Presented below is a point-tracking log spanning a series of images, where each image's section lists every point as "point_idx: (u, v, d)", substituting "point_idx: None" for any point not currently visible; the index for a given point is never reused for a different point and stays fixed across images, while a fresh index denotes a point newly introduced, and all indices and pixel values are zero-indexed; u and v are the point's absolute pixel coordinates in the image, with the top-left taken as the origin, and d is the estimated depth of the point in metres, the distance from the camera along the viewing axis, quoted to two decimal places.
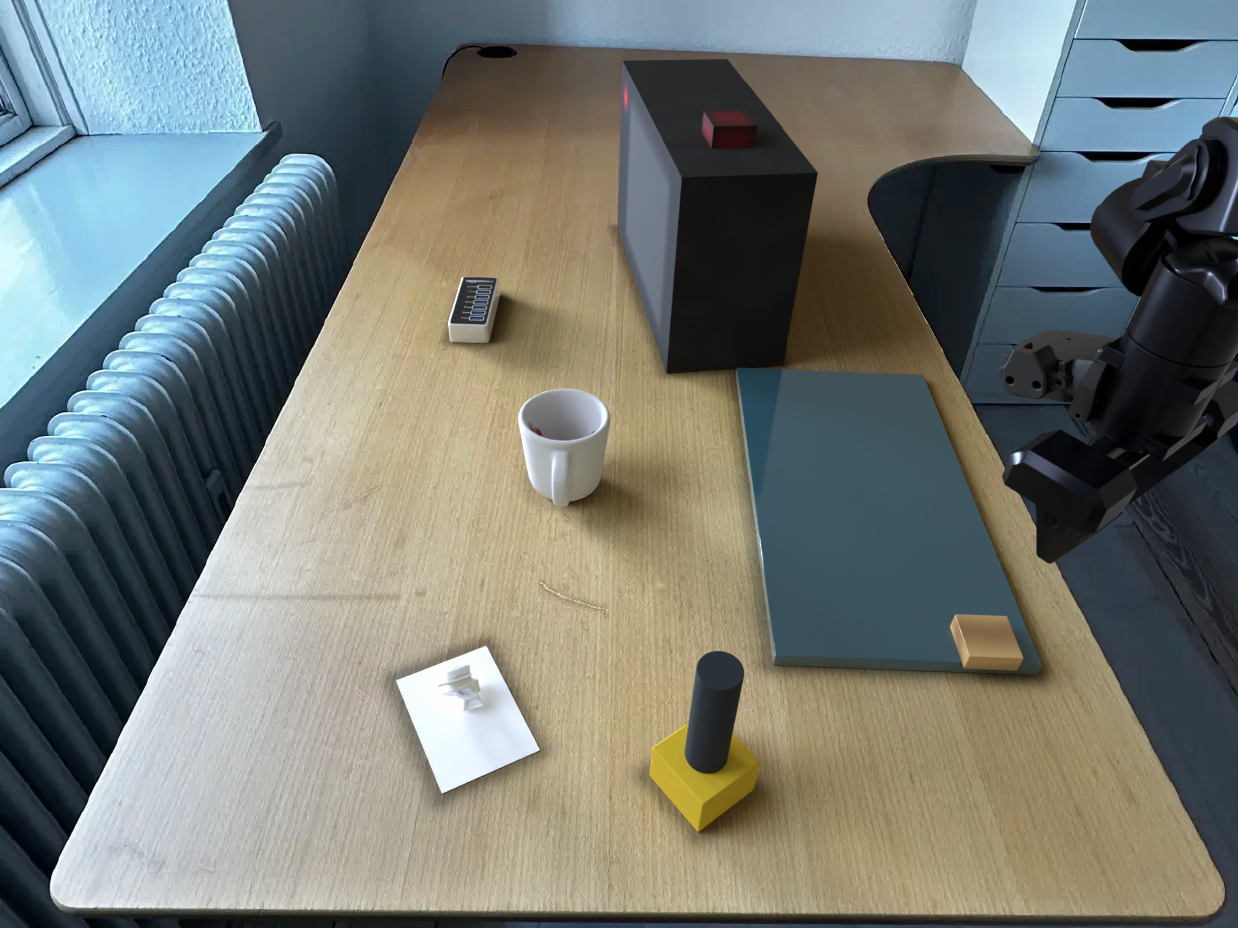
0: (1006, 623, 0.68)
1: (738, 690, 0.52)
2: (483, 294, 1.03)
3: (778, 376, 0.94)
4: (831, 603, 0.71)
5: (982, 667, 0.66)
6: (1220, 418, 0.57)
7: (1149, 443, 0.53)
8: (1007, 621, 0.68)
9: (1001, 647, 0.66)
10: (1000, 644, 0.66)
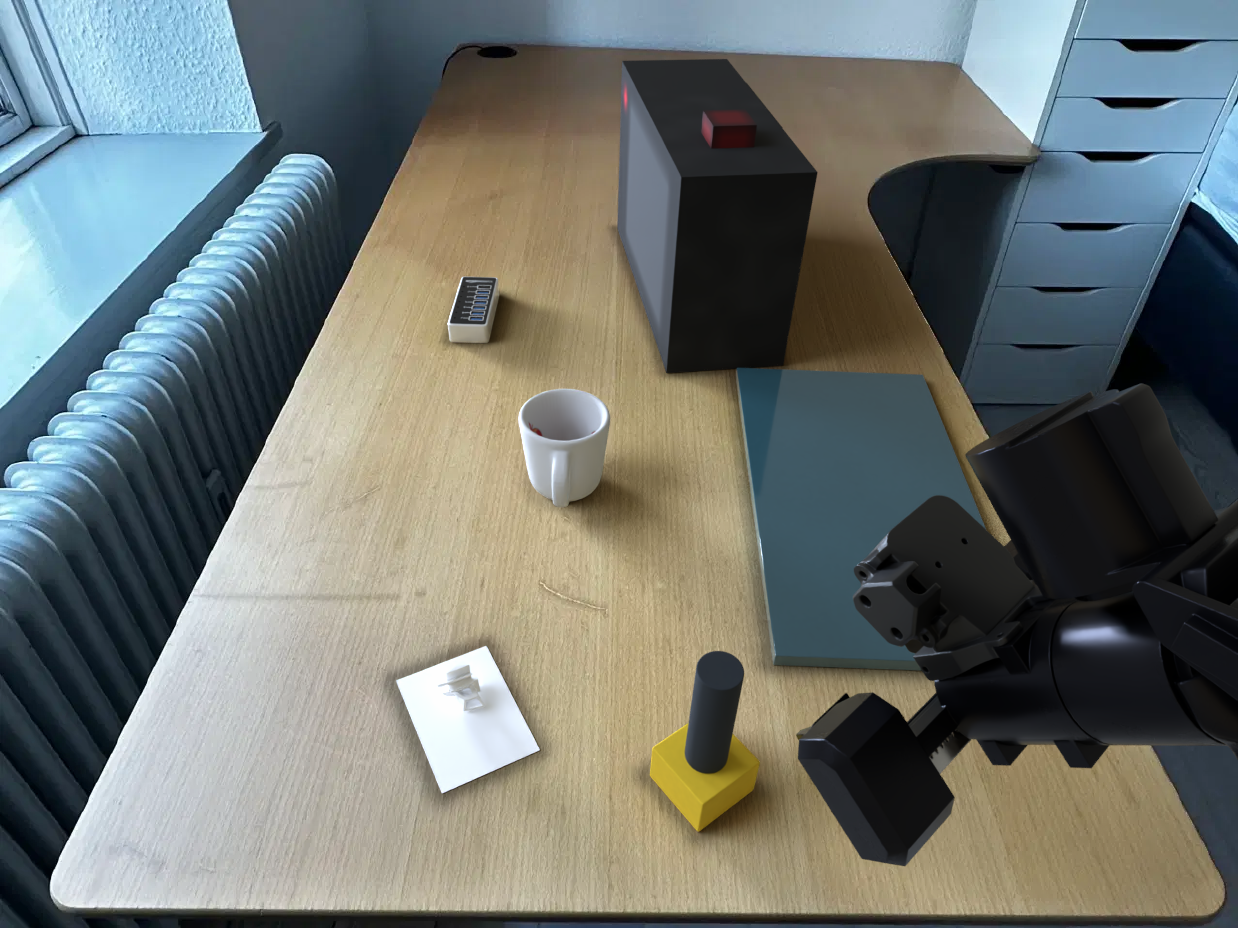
0: None
1: (738, 690, 0.52)
2: (483, 294, 1.03)
3: (778, 376, 0.94)
4: (831, 603, 0.71)
5: None
6: None
7: (990, 744, 0.39)
8: None
9: None
10: None
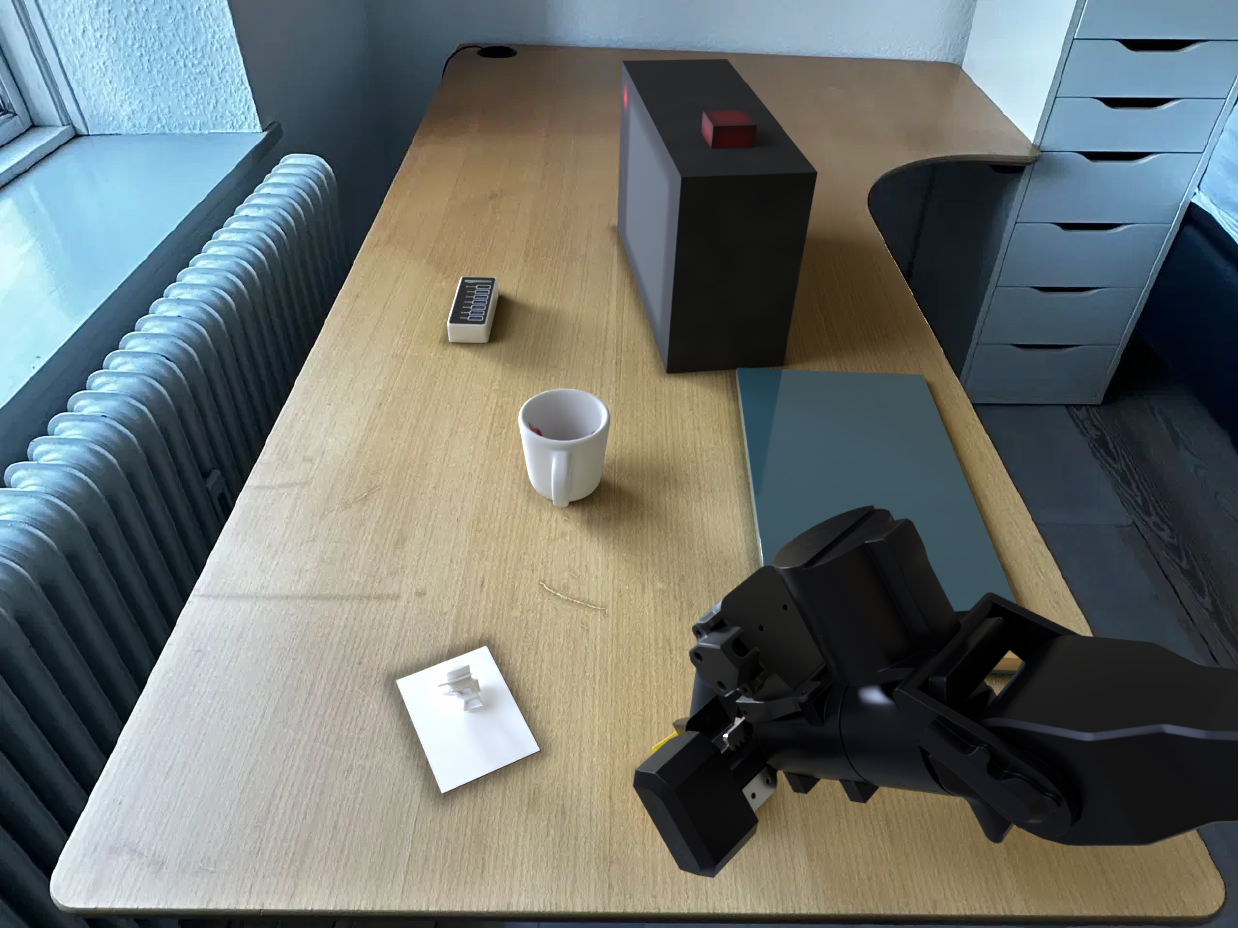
0: None
1: None
2: (482, 294, 1.03)
3: (778, 376, 0.94)
4: None
5: None
6: None
7: (793, 776, 0.47)
8: None
9: None
10: None
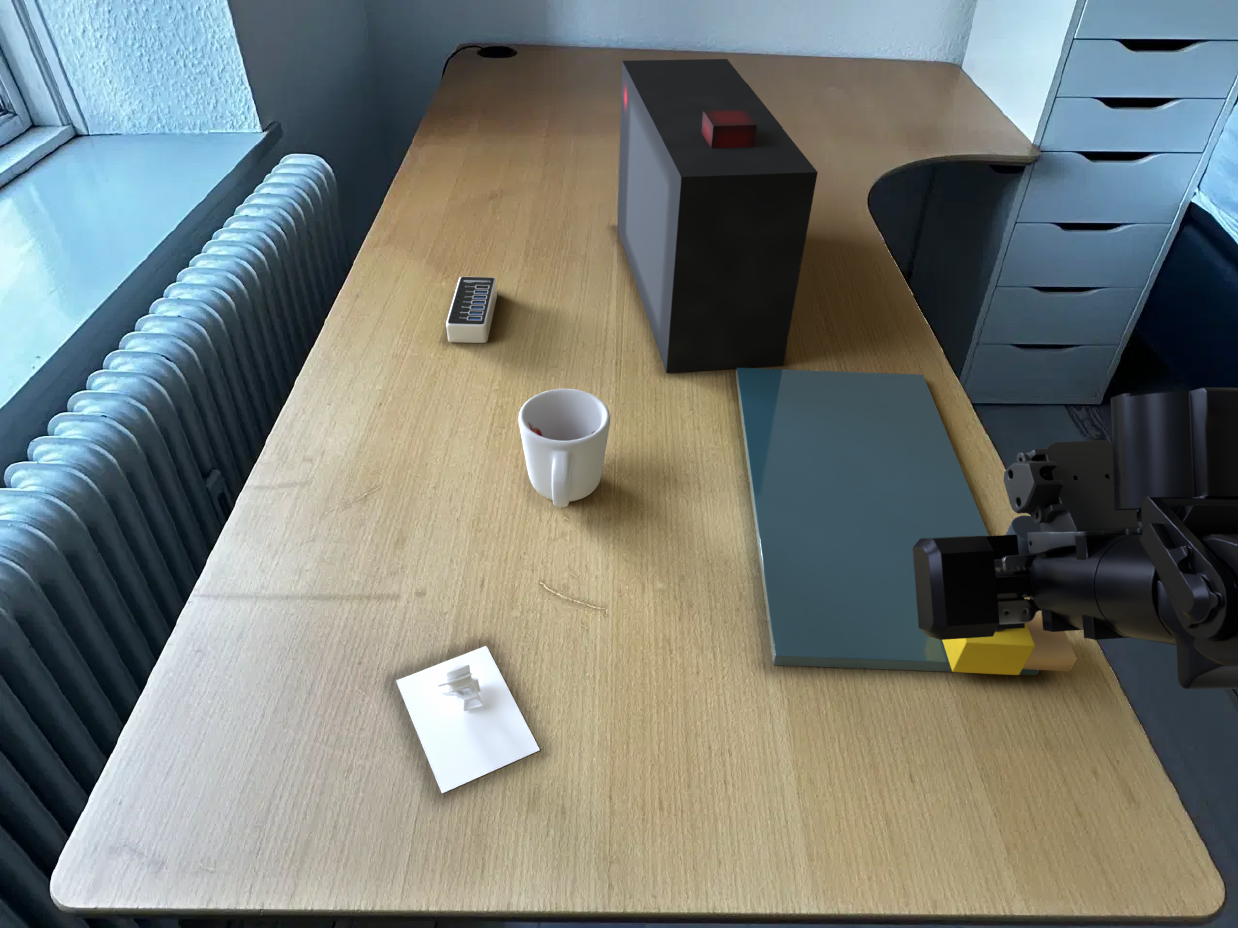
0: None
1: None
2: (481, 294, 1.03)
3: (778, 376, 0.94)
4: (831, 603, 0.71)
5: (1035, 667, 0.66)
6: None
7: (1047, 613, 0.54)
8: None
9: (1054, 648, 0.66)
10: (1053, 645, 0.66)
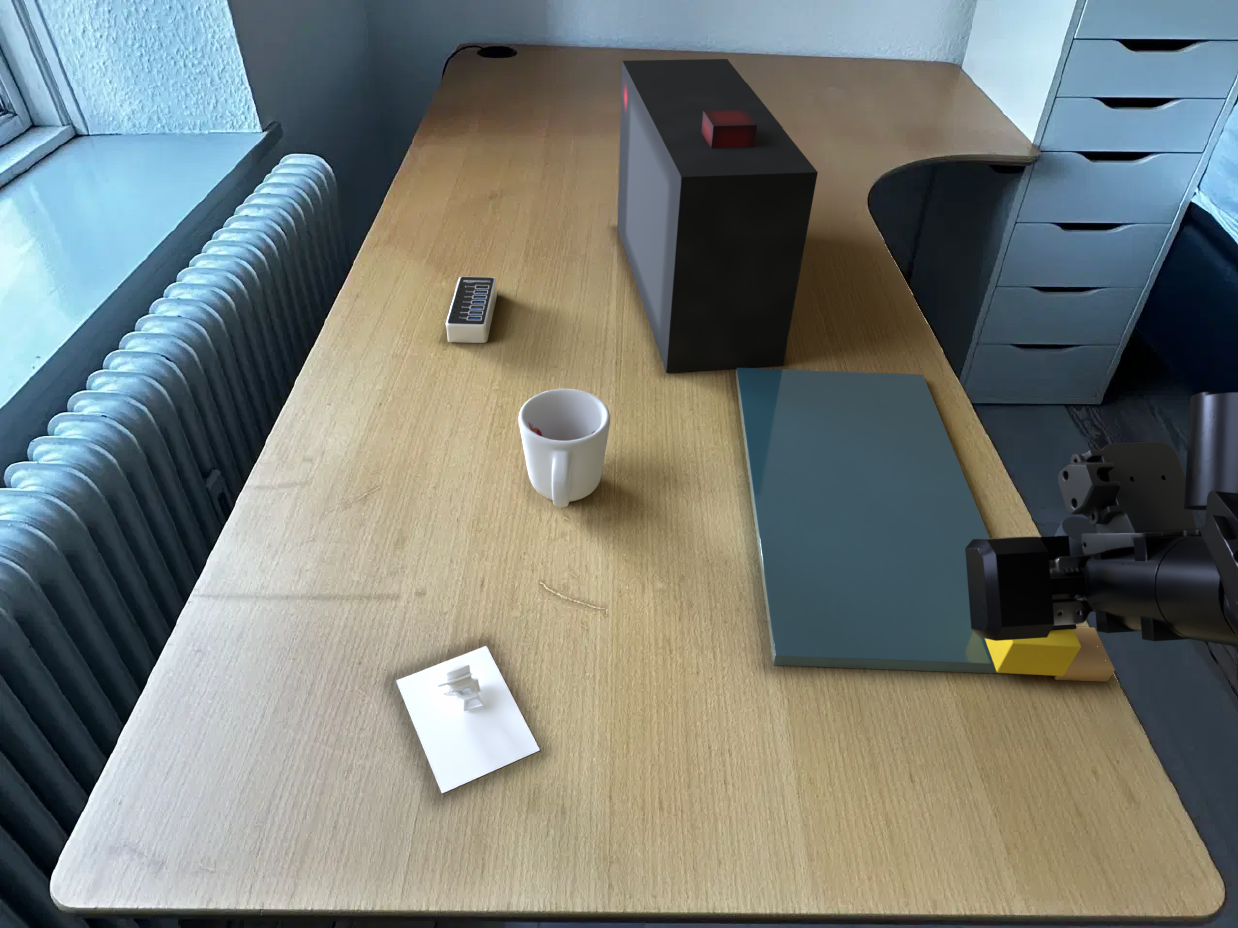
0: (1095, 635, 0.69)
1: None
2: (480, 294, 1.03)
3: (778, 376, 0.94)
4: (831, 603, 0.71)
5: (1073, 678, 0.67)
6: None
7: (1102, 614, 0.54)
8: (1095, 633, 0.69)
9: (1092, 659, 0.67)
10: (1091, 656, 0.67)
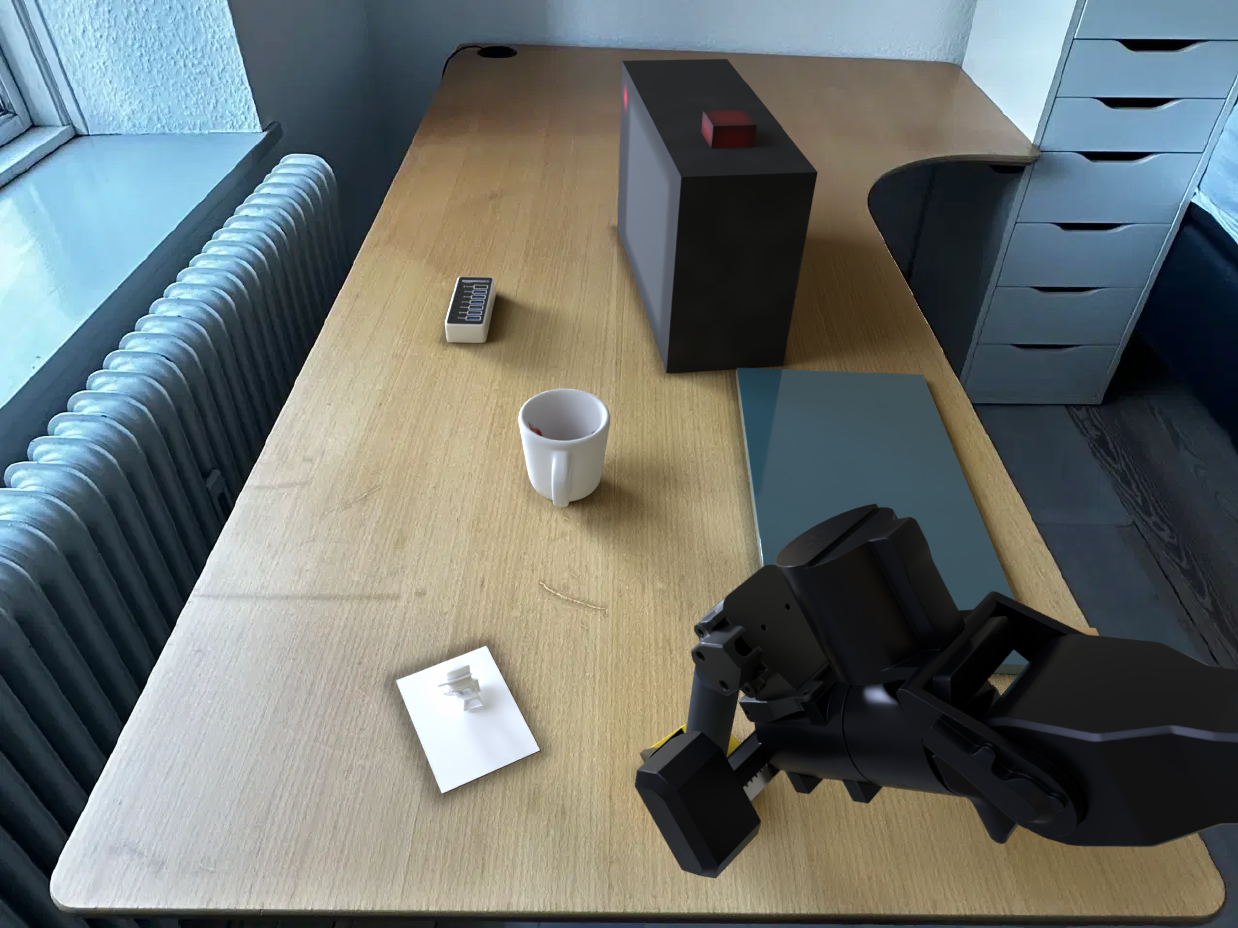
0: (1095, 635, 0.69)
1: None
2: (479, 294, 1.03)
3: (778, 376, 0.94)
4: None
5: None
6: None
7: (795, 776, 0.47)
8: (1096, 633, 0.69)
9: None
10: None
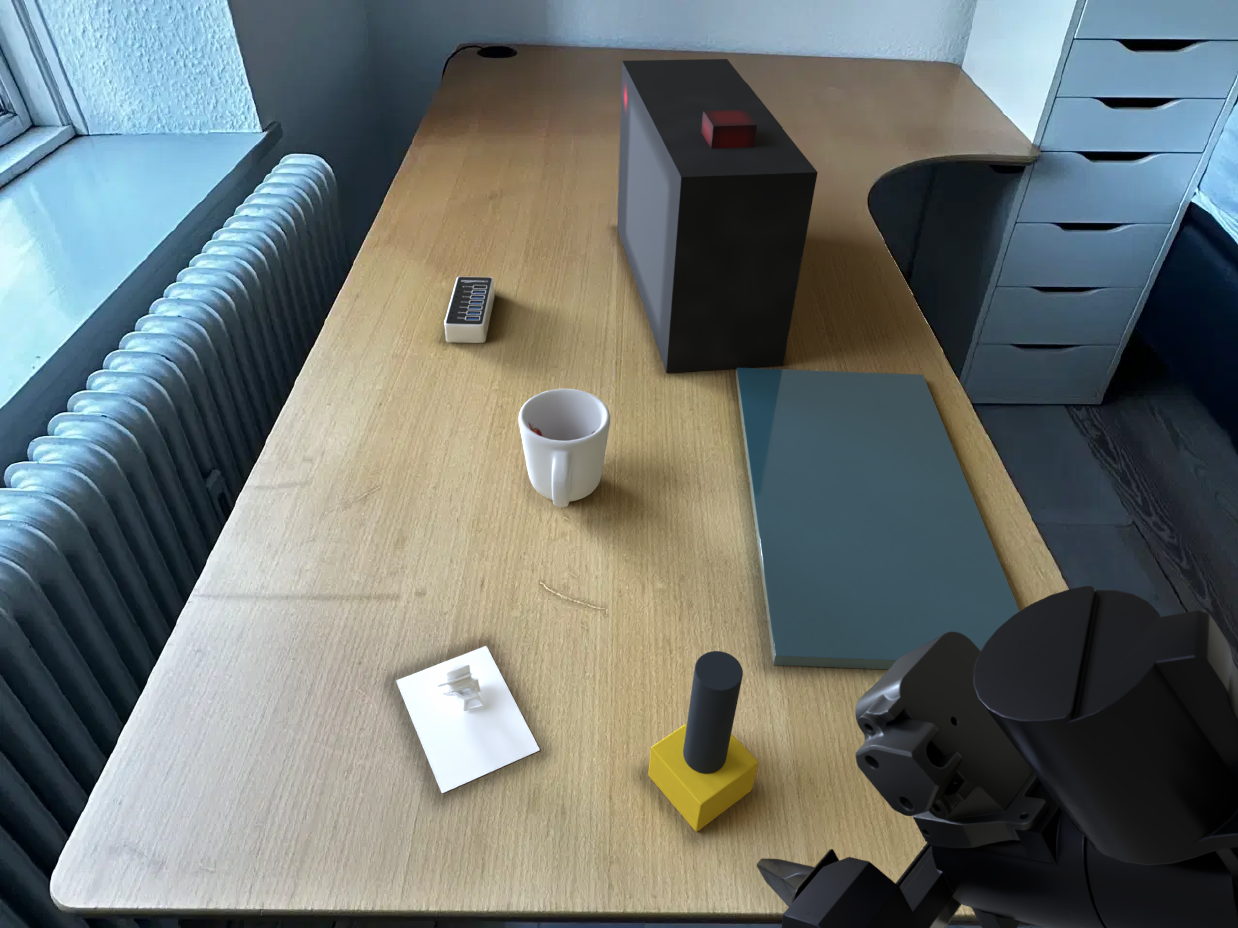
0: None
1: (736, 690, 0.52)
2: (478, 294, 1.03)
3: (778, 376, 0.94)
4: (831, 603, 0.71)
5: None
6: None
7: (988, 916, 0.35)
8: None
9: None
10: None
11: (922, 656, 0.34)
